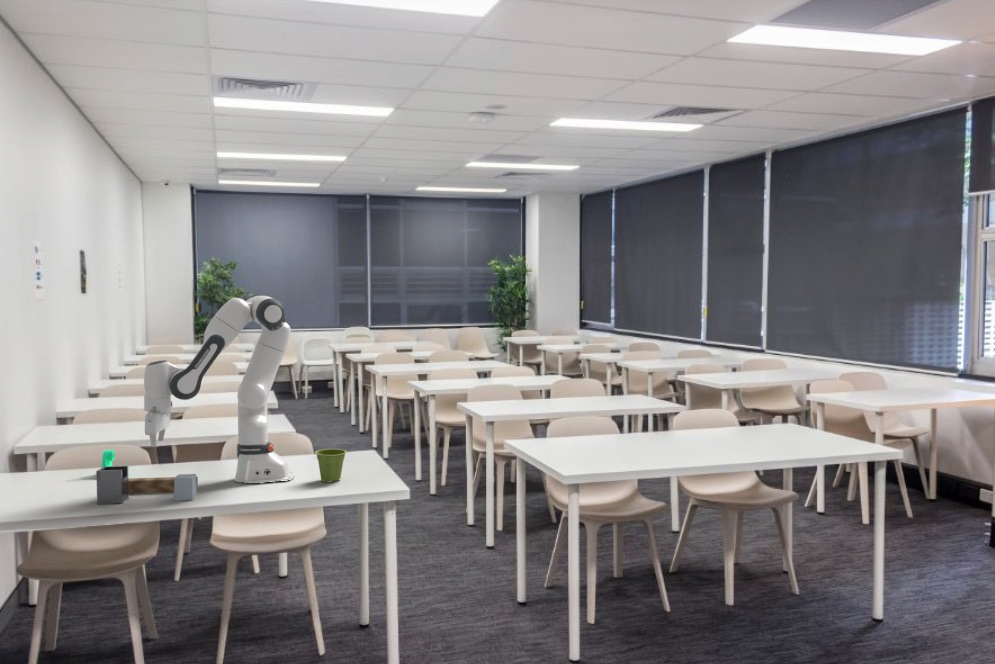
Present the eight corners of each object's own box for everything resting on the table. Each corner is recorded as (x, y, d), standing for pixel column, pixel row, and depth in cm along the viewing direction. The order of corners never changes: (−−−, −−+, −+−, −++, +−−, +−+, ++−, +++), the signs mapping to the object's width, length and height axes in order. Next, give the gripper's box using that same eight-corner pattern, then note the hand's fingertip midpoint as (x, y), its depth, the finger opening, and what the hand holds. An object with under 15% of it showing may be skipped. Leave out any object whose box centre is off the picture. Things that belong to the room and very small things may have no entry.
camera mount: (122, 478, 305) (121, 452, 305) (100, 479, 303) (100, 453, 303) (129, 471, 317) (128, 446, 316) (108, 472, 315) (108, 447, 315)
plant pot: (317, 485, 294) (317, 455, 293) (313, 478, 305) (313, 450, 304) (349, 482, 298) (349, 453, 298) (343, 476, 309) (343, 447, 309)
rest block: (196, 496, 278) (196, 473, 277) (192, 500, 272) (192, 477, 271) (178, 496, 277) (178, 474, 276) (174, 501, 271) (174, 478, 270)
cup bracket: (128, 498, 275) (128, 465, 274) (121, 503, 267) (121, 470, 267) (104, 498, 274) (103, 466, 273) (97, 504, 266) (96, 471, 266)
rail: (197, 489, 288) (197, 476, 288) (195, 492, 284) (194, 478, 284) (123, 492, 284) (122, 478, 284) (119, 495, 280) (119, 481, 280)
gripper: (158, 409, 273) (159, 448, 274) (173, 401, 293) (173, 438, 294) (139, 409, 272) (139, 448, 273) (156, 401, 292) (156, 438, 293)
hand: (157, 443), depth 283 cm, fingers open, 8 cm apart
